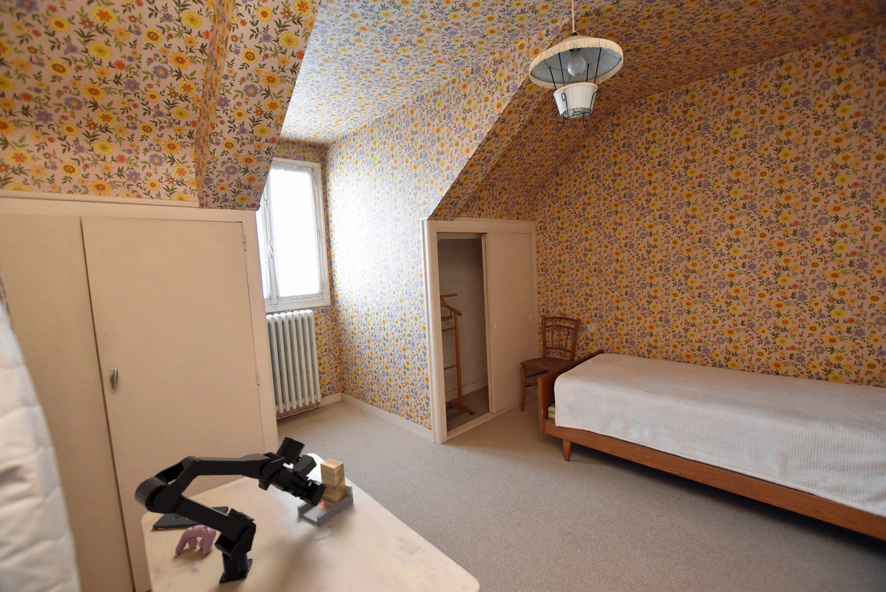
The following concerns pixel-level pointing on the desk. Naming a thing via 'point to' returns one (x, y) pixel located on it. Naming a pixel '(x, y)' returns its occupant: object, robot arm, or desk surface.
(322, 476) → the oak slider
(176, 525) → the smart home device
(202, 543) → the video game controller
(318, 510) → the rail box
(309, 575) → the desk surface
